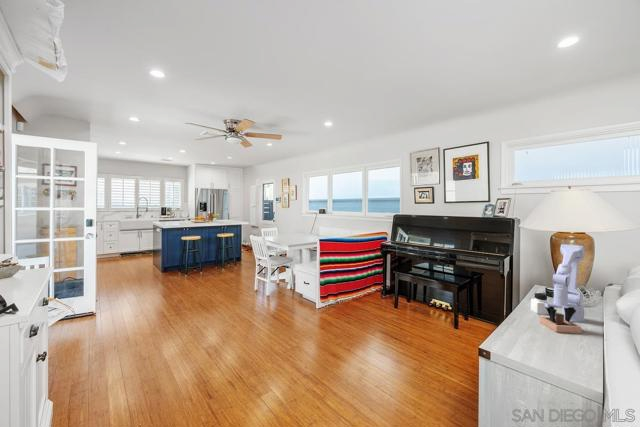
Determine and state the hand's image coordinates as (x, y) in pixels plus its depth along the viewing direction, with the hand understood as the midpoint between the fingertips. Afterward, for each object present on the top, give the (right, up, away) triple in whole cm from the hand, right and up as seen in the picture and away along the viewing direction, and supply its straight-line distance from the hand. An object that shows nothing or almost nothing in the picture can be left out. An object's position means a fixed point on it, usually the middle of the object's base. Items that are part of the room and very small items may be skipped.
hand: (559, 320), depth 145 cm
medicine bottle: (+7, -4, +22) cm, 23 cm away
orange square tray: (0, -4, 0) cm, 4 cm away
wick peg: (0, -4, 0) cm, 3 cm away
